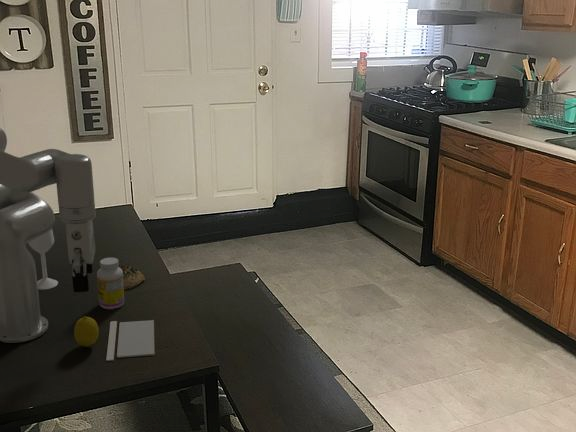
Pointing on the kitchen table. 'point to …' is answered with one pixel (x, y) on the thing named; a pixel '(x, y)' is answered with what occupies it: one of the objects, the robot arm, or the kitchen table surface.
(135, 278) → the bread roll
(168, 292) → the kitchen table surface
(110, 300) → the supplement bottle
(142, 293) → the kitchen table surface
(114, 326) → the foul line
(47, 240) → the champagne flute
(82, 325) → the lemon
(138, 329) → the mat
